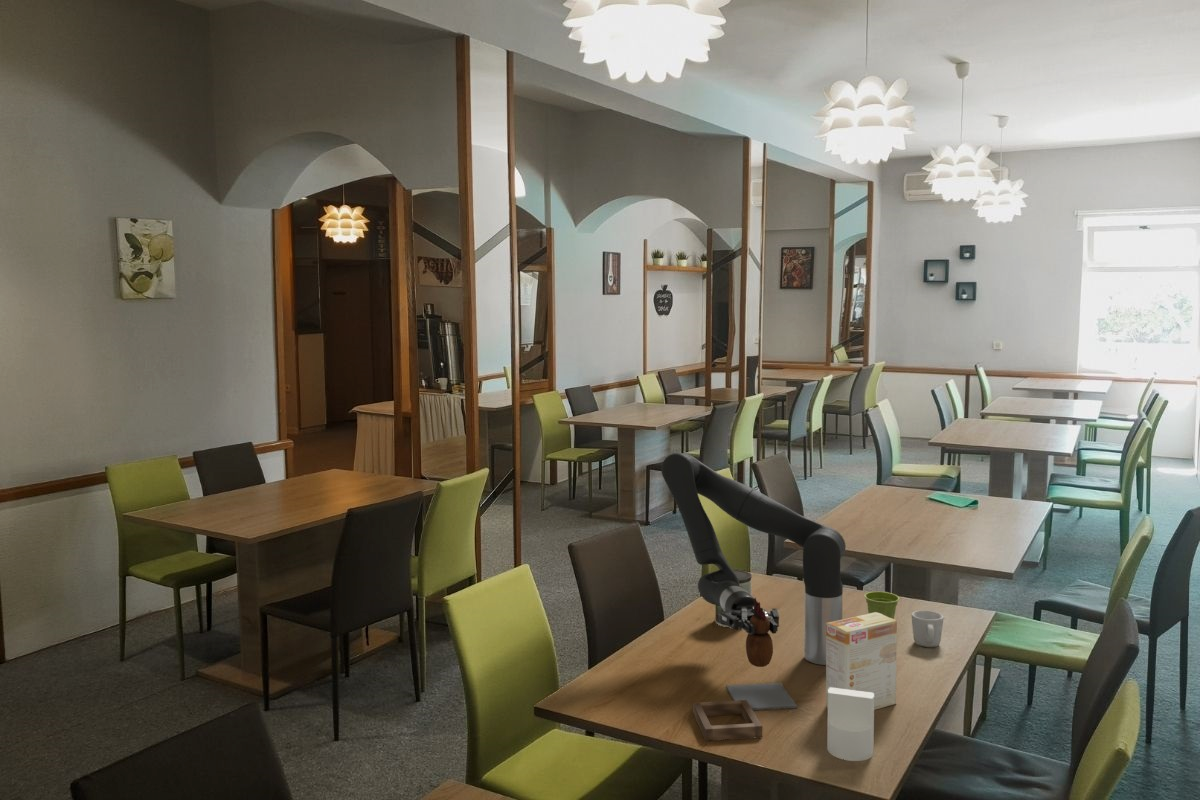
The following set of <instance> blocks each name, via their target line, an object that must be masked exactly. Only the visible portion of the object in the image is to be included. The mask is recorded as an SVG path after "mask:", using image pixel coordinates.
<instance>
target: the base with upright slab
mask: <svg viewBox="0 0 1200 800" xmlns="http://www.w3.org/2000/svg"><path fill="white" fill-rule="evenodd" d="M874 724H875V710H874V693H872V692H864V691H856V690H848V689H841V688H833V687H830V688H829V689H828V708H827V737H826V738H827V741H826V742H827V746H826V747H827V752H828V753H829V754H830V755H831V756H833V757H835V758H838V759H840V760H843V759H844V760H843V761H849V762H860V761H866V760H869V759H871V758H872V757H873V756H874V742H875V741H874V739H875V738H874V736H875V735H874V733H875V731H874V726H875V725H874Z"/></svg>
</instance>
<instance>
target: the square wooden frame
mask: <svg viewBox="0 0 1200 800" xmlns="http://www.w3.org/2000/svg"><path fill="white" fill-rule="evenodd" d="M692 708H693V710H692V712H693V713H692V714H693V717H694V719H695V721H696V723H697V726H698V728H699V727H700V728H699V730H700V729H701V730H700V732H701V734H702V737H703V738H705V739H704V741H705V740H713V741H720V740H719V739H722V740H721V741H723V739H724V740H725V739H730V740H742V739H741V738H747V739H755V738H754V737H762V738H763V725H762V723H761V722H760V720H759V718H758V717H757V716H758V715H756V713H755V712H754V711H755V710H752V708H751V707H750V705H749V703H748V702H747V700H737V701H734V700H721V701H704V702H702V701H701V702H692ZM730 715H731V716H732V715H733V716H735V715H741V716H742V718H743V719H744V721H745V723H738V724H737V723H736V724H718V725H717V724H716V725H711V723H710V720H709V718H708V717H713V716H716V717H717V716H730ZM725 741H726V740H725Z"/></svg>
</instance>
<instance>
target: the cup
mask: <svg viewBox="0 0 1200 800" xmlns="http://www.w3.org/2000/svg"><path fill="white" fill-rule="evenodd" d="M944 619H945V617H944V615H943V614H942V613H940V612H936V611H933V610H925V609H922V610H915V611H913V612H911V624H912V625H911V626H912V635H913V641H914V642H915V644H916V645H918V646H921V647H924V648H936V647H938V646H939V645H940V643H941V641H942V632H943V625H944Z"/></svg>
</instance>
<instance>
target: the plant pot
mask: <svg viewBox="0 0 1200 800" xmlns="http://www.w3.org/2000/svg"><path fill="white" fill-rule="evenodd" d="M863 596H864V598H865V601H866V603H867V612H868V613H867V614H869V613H874V612H877V613H880V614H883V615H884V616H887V617H889V618H892V619H895V614H896V609H897V606H898V602H900V597H899V596H898V595H897V594H895V593H891V592H888V591H869V592H867V593H864V595H863Z"/></svg>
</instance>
